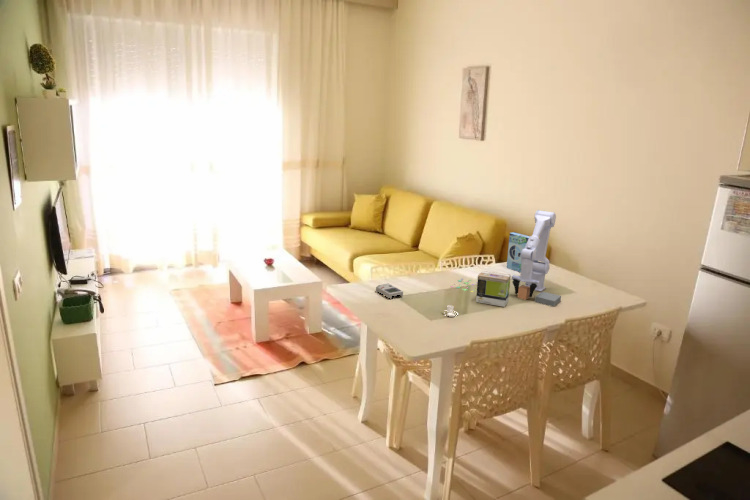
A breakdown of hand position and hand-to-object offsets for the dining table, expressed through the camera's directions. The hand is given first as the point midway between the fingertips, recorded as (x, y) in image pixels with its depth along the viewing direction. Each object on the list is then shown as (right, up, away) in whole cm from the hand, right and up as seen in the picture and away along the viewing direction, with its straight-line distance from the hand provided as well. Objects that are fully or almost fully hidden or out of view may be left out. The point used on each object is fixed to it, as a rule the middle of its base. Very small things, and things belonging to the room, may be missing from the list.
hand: (523, 295), depth 268 cm
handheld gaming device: (-72, 0, 0) cm, 72 cm away
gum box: (+11, +11, +44) cm, 47 cm away
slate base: (+11, -3, -4) cm, 12 cm away
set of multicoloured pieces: (-28, +3, +16) cm, 32 cm away
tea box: (-18, -3, -7) cm, 20 cm away
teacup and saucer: (-45, -8, -24) cm, 52 cm away
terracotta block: (0, -1, 0) cm, 2 cm away
